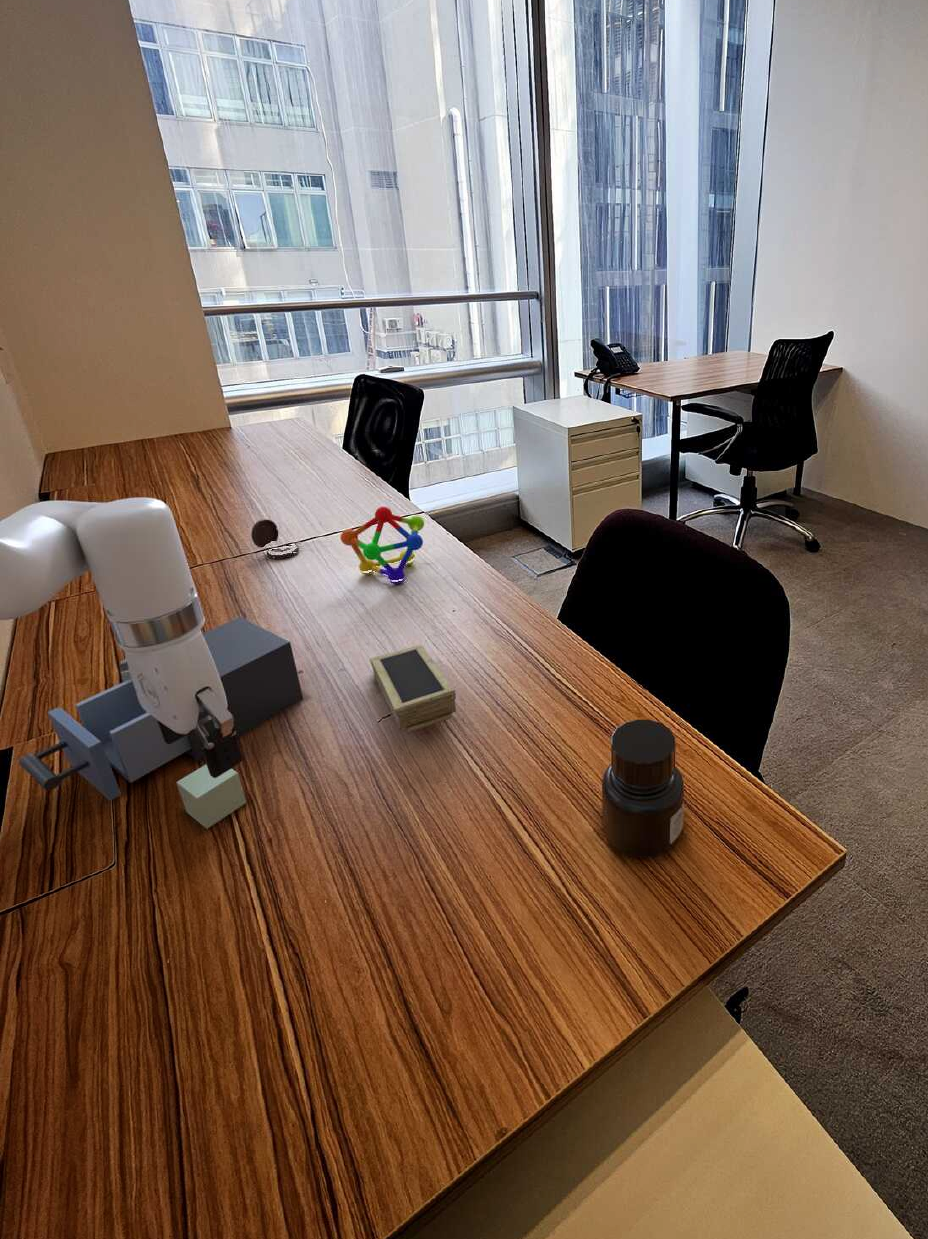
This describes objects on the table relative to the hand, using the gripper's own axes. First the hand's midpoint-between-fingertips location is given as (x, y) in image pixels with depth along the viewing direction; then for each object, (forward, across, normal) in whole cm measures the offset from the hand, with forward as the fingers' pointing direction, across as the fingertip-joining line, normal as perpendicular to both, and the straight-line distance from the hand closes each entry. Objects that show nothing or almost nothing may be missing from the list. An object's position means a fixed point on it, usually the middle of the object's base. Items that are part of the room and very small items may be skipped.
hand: (203, 752), depth 73 cm
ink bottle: (+9, +43, +24) cm, 50 cm away
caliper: (+8, -38, +8) cm, 40 cm away
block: (+8, 0, 0) cm, 8 cm away
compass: (+8, -59, +45) cm, 75 cm away
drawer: (+7, -16, -2) cm, 18 cm away
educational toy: (+8, -29, +50) cm, 58 cm away
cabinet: (+8, -16, +10) cm, 21 cm away
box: (+9, +3, +26) cm, 27 cm away
